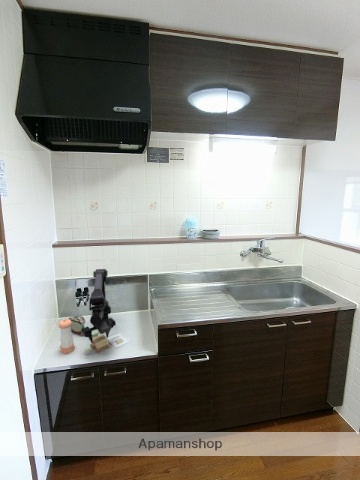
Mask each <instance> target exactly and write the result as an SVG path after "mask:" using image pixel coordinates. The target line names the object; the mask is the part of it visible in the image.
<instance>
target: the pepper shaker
mask: <svg viewBox="0 0 360 480" xmlns="http://www.w3.org/2000/svg"><path fill="white" fill-rule="evenodd" d="M71 325H72V321H71V320H70V319H68V318H64V319H61V320H60V321H59V322H58V325H57V326H58V328H59V331H60V340H59V341H60V346H59V348H60V353H61V354H63V355H65V354H70V353H72V352H73V351H74V350H75V343H74V336H73V333H72V332H71Z"/></svg>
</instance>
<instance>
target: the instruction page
mask: <svg viewBox="0 0 360 480" xmlns="http://www.w3.org/2000/svg"><path fill="white" fill-rule="evenodd" d="M106 338H107V339H108V343H109V344H111V345H112V346H113V347H114V348H117V349H118V348H119V347H121V346H123V345H125V344H128V343H130V340H128V339H127V338H126V337H125V336H124V335H123V334H121V333H120V332H119V333H116V334H114V335H112V336H110V337H109V336H108V337H106Z"/></svg>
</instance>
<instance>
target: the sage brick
mask: <svg viewBox="0 0 360 480" xmlns="http://www.w3.org/2000/svg"><path fill="white" fill-rule="evenodd" d="M99 334H100V333H99V331H98V330H94V331H92V340H93V338H94V337H97V336H99Z"/></svg>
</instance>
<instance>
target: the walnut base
mask: <svg viewBox="0 0 360 480" xmlns="http://www.w3.org/2000/svg"><path fill="white" fill-rule="evenodd" d="M110 344H111V343H110V342H108V345H105V346H103V347H101V348H98V349H97V348H96V347H95V345H94V344H92V343H91V342H90V348H91V349H92V350H93V352H95V353H96V354H98V353H101V352H102V351H105V350H107V349H109V348H110V347H111V345H110Z"/></svg>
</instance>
